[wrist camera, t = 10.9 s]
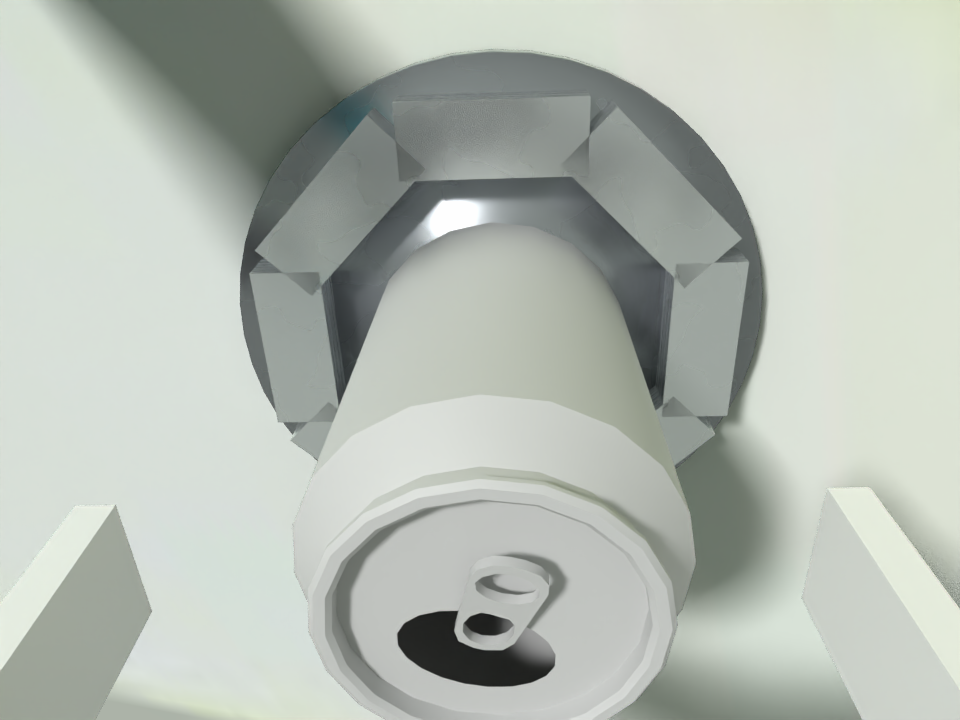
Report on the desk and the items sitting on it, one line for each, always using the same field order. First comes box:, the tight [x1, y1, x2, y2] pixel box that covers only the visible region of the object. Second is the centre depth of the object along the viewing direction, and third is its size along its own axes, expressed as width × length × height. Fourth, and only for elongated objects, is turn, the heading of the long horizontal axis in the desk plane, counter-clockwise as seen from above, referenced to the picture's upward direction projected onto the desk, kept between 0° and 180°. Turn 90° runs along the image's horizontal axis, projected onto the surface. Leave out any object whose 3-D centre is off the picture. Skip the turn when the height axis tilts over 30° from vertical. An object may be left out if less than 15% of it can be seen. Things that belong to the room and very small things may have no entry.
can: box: [293, 222, 696, 720], centre depth 17 cm, size 8×8×12 cm
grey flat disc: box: [240, 49, 762, 469], centre depth 23 cm, size 16×16×2 cm
